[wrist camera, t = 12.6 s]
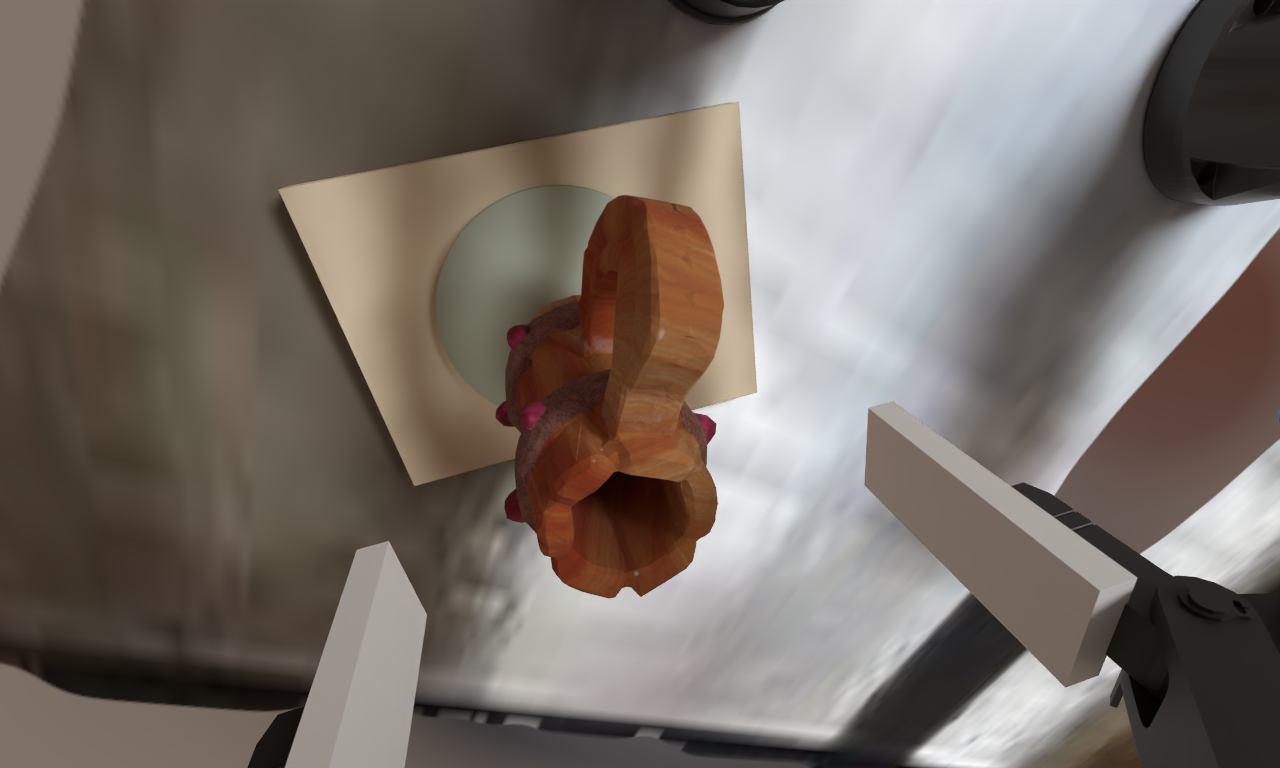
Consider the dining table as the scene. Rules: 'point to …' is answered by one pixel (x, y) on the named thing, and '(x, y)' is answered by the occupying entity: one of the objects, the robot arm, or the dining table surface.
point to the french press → (724, 9)
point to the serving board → (507, 266)
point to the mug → (619, 403)
